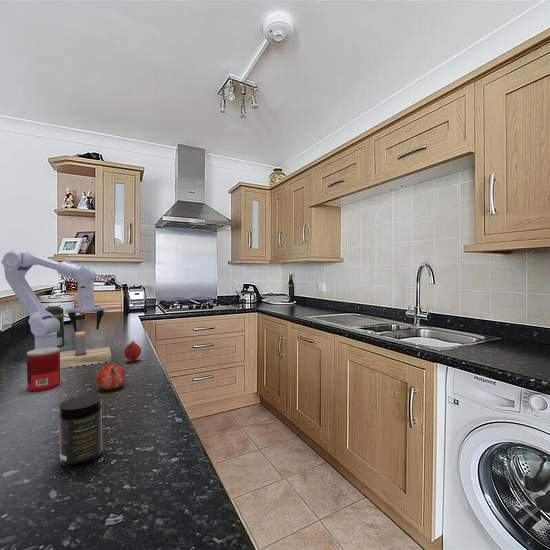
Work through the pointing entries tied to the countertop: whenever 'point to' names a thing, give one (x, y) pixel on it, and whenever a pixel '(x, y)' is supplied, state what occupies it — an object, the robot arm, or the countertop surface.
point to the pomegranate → (110, 376)
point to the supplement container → (80, 430)
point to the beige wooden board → (85, 357)
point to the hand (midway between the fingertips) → (86, 330)
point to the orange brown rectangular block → (80, 342)
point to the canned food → (43, 368)
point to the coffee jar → (59, 314)
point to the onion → (132, 351)
